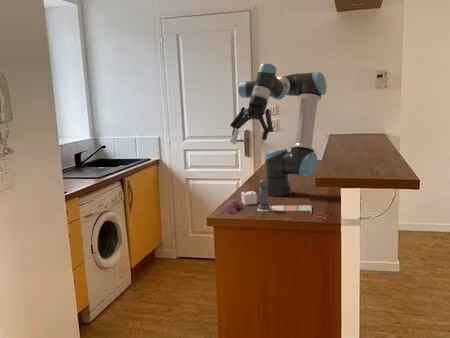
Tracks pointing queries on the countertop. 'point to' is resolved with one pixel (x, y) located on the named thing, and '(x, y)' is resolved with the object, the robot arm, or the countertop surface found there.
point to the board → (289, 208)
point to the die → (249, 197)
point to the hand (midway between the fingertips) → (246, 145)
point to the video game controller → (233, 206)
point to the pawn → (263, 195)
